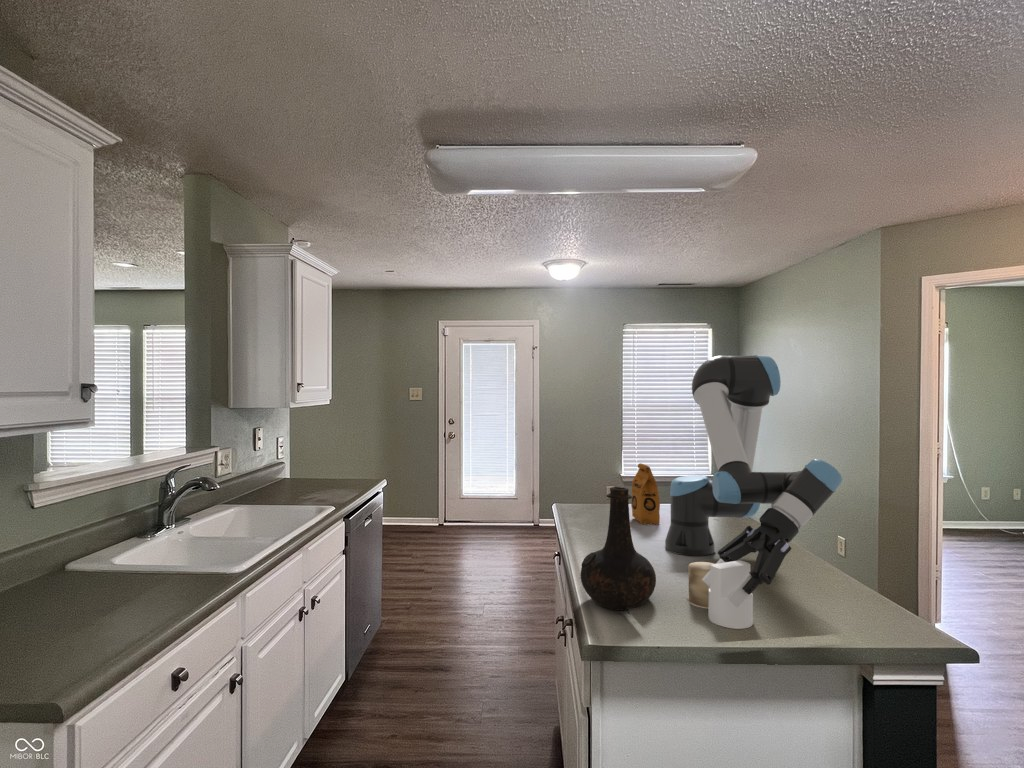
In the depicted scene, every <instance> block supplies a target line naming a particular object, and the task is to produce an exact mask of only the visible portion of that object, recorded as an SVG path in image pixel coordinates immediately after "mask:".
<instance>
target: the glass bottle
mask: <svg viewBox="0 0 1024 768" xmlns="http://www.w3.org/2000/svg"><path fill="white" fill-rule="evenodd" d="M609 490H610V492H609V493H607V494H606V498H608V499H610V500H609V516H608V517H609V519H608V527H607V535H606V538H605V543H604V546H603V548H602V549H600V550H597V551H594V552H590V553H588V554H587V555H586V556H585V557H584V558H583V560H582V562H581V569H580V581H581V586H582V587H583V589H584V591H585V592H586V594H587V595H588V597H590V599H592V600H593V601H594V602H595V603H597V605H599V606H602V607H604V608H607V609H610V610H614V611H629V609H632V608H636V607H637V608H638V607H639V606H642V605H643V604H645V603H646V602H647V601H648V600H649V599H650V597H651V596H652V595H653V593H654V592H655V588H656V585H657V584H656V583H657V577H656V576H657V575H656V572H655V568H654V567H653V565H652V563H651V562H650V561H649V560H648V559H647V558H646V557H645V556H643V555H642V554H641V553H639V552H638V551H636V549H635V547H634V543H633V537H632V529H631V519H630V508H629V507H630V506H629V500H632V494H629V491H630V490H629V488H627V487H619V486H612V487H610V488H609Z"/></svg>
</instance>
